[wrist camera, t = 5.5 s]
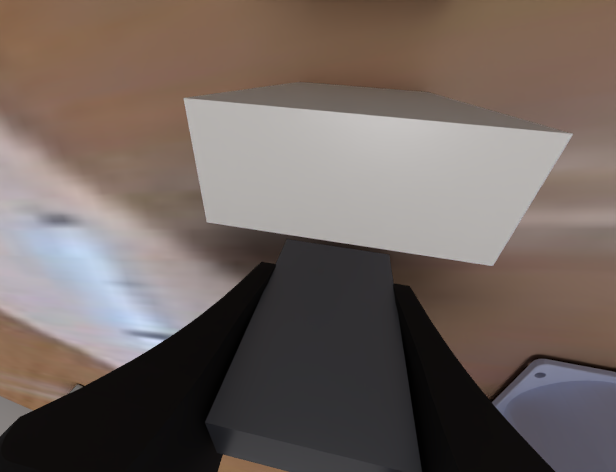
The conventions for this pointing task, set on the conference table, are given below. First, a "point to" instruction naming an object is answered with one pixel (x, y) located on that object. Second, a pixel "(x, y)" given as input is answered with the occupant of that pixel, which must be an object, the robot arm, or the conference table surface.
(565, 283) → the conference table surface
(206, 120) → the tile
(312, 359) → the tile
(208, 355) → the robot arm
